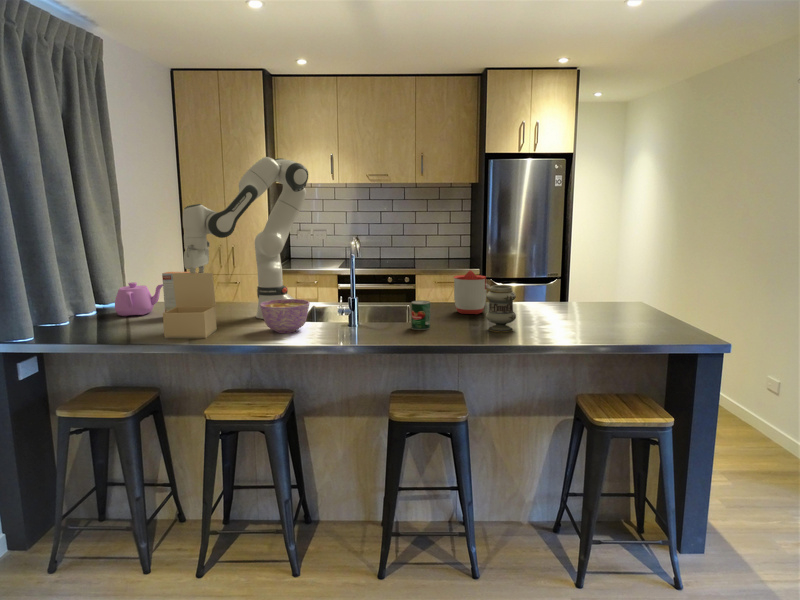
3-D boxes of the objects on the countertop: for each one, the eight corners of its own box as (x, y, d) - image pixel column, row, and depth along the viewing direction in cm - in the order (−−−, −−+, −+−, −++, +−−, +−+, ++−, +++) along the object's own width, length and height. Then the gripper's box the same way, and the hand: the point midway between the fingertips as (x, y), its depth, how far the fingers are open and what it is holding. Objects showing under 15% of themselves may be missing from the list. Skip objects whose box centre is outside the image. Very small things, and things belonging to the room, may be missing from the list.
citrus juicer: (489, 316, 265) (490, 272, 262) (451, 315, 268) (452, 272, 265) (490, 309, 281) (491, 268, 277) (454, 308, 284) (455, 268, 280)
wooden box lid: (215, 306, 238) (218, 303, 243) (212, 273, 235) (215, 270, 239) (176, 306, 238) (180, 303, 243) (172, 273, 234) (176, 270, 239)
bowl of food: (267, 325, 248) (266, 299, 246) (314, 325, 248) (313, 298, 246) (255, 336, 229) (254, 307, 227) (306, 336, 228) (305, 307, 226)
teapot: (109, 320, 262) (106, 287, 260) (120, 311, 282) (117, 280, 280) (163, 317, 267) (161, 285, 265) (170, 309, 287) (168, 279, 285)
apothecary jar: (485, 326, 245) (486, 283, 242) (515, 326, 243) (516, 284, 240) (485, 332, 233) (486, 288, 230) (516, 333, 231) (517, 288, 228)
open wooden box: (216, 330, 240) (215, 306, 238) (205, 338, 226) (204, 313, 225) (177, 330, 240) (176, 306, 238) (164, 338, 226) (162, 313, 224)
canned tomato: (410, 329, 239) (410, 303, 237) (412, 325, 247) (412, 300, 245) (429, 330, 238) (429, 303, 236) (431, 326, 245) (431, 300, 244)
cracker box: (200, 316, 270) (197, 271, 266) (194, 318, 264) (191, 273, 260) (171, 315, 271) (168, 271, 268) (165, 318, 265) (161, 272, 262)
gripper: (194, 246, 229) (196, 280, 231) (210, 242, 249) (212, 274, 251) (178, 246, 229) (181, 281, 231) (196, 242, 249) (198, 274, 251)
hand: (197, 277), depth 241 cm, fingers open, 7 cm apart
